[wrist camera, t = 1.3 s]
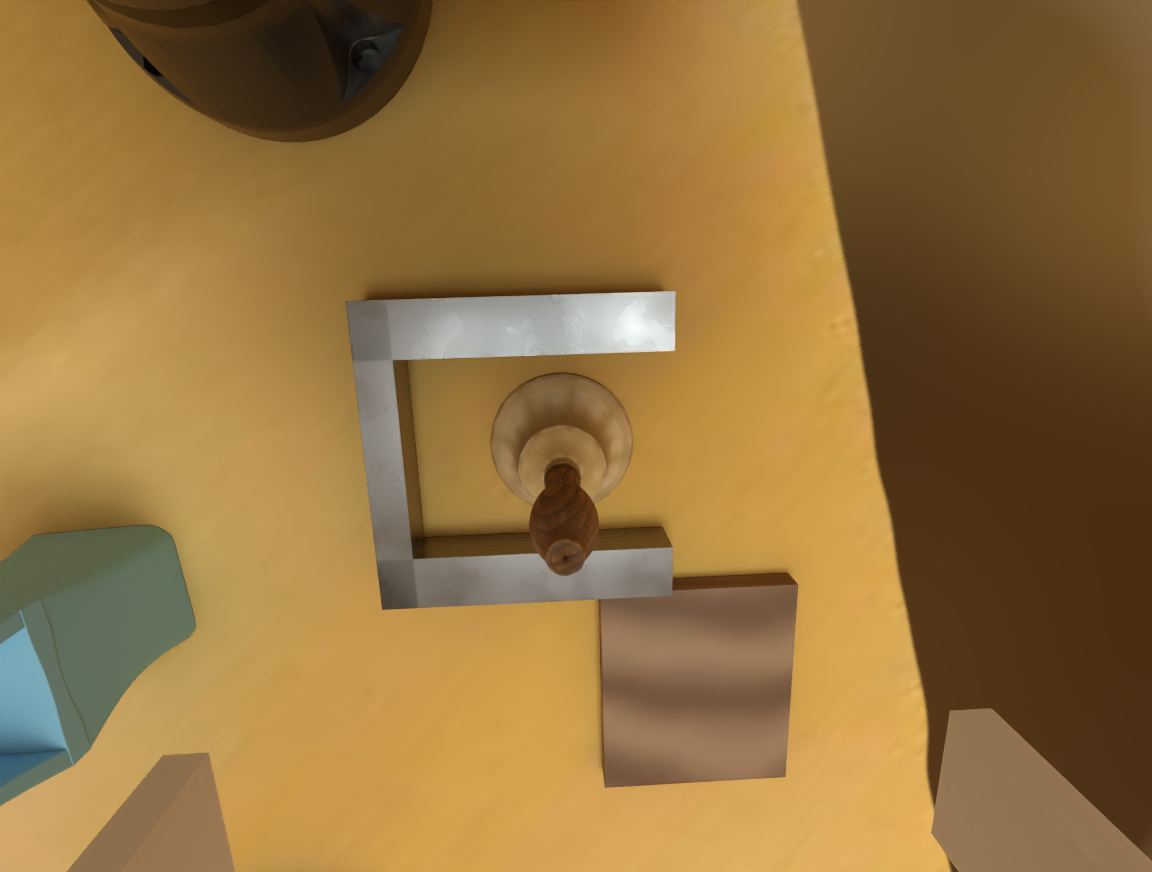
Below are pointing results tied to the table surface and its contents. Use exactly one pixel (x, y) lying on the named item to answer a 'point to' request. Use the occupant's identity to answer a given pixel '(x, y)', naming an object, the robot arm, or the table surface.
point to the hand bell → (562, 460)
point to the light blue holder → (79, 639)
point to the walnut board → (698, 681)
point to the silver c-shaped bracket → (403, 554)
